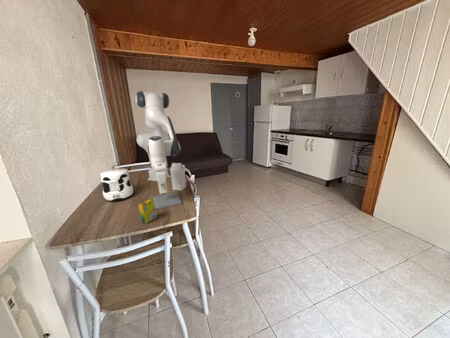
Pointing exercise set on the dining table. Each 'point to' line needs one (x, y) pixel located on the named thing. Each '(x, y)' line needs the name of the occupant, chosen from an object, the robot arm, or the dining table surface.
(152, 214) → the crayon box
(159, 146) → the robot arm
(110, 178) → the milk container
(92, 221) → the dining table surface
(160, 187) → the cream block
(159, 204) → the mat
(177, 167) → the milk carton
